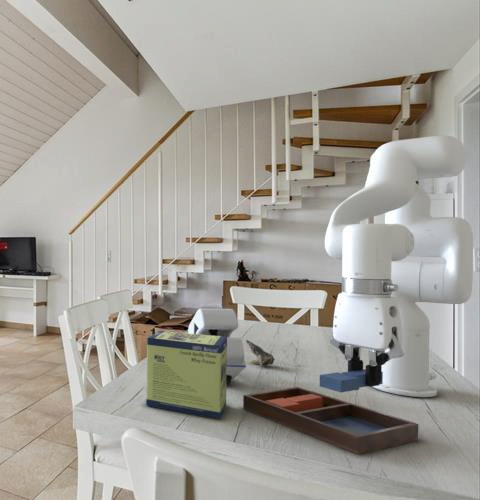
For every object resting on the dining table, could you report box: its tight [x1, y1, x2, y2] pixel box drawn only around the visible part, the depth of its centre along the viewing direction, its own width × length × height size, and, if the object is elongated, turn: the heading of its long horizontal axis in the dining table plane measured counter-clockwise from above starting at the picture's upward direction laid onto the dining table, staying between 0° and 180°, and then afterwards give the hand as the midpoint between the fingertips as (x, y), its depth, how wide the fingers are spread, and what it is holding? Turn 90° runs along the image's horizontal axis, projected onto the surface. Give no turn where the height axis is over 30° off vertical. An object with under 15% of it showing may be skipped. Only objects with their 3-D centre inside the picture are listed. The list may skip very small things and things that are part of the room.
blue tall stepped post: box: [319, 368, 383, 393], centre depth 91 cm, size 13×4×2 cm, turn 111°
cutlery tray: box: [242, 386, 419, 456], centre depth 97 cm, size 17×24×3 cm
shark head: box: [245, 339, 275, 368], centre depth 142 cm, size 8×6×7 cm
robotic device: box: [187, 307, 247, 386], centre depth 129 cm, size 10×21×20 cm
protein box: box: [145, 330, 227, 420], centre depth 107 cm, size 10×16×16 cm
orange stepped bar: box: [266, 394, 323, 412], centre depth 102 cm, size 13×4×2 cm, turn 111°
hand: (364, 382), depth 92 cm, fingers closed on blue tall stepped post, 2 cm apart
